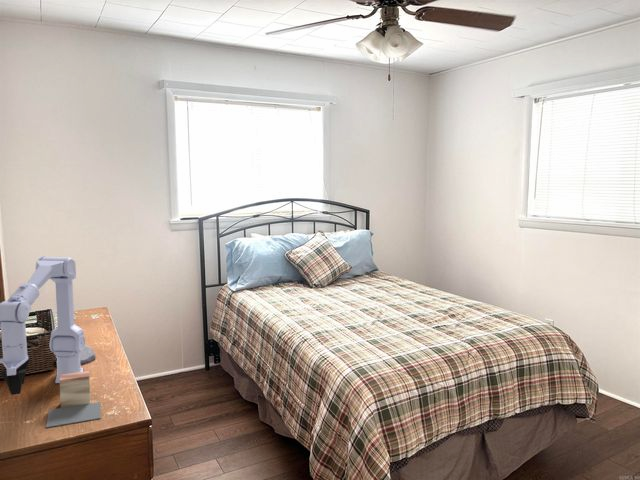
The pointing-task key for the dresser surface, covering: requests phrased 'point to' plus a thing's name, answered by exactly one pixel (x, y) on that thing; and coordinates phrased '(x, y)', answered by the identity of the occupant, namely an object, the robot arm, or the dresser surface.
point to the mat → (74, 414)
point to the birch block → (75, 389)
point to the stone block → (87, 355)
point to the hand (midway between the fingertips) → (17, 388)
